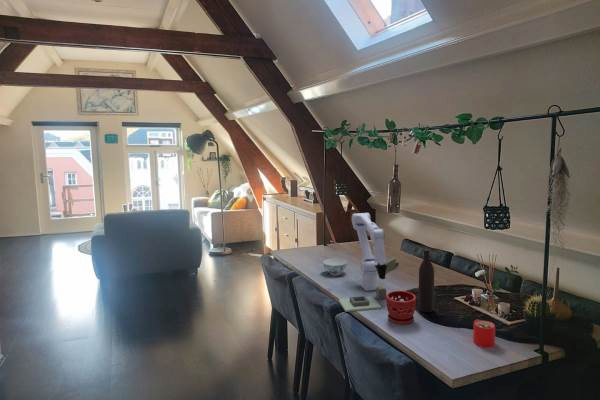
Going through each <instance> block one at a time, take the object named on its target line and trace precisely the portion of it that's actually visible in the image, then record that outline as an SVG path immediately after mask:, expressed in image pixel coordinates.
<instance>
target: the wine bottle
mask: <svg viewBox="0 0 600 400" xmlns="http://www.w3.org/2000/svg"><path fill="white" fill-rule="evenodd" d="M430 254H431V249H430V248H429V249H428V248H425V249H424V250H423V260H422V261H421V264H420V265H419V268H418V311H419V312H420V311H422V312H421V313H423V312H432V311H433V312H434V309H435V268H434V265H433V263H432V261H431V257H430ZM433 312H432V313H433Z"/></svg>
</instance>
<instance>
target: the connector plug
mask: <svg viewBox="0 0 600 400" xmlns="http://www.w3.org/2000/svg"><path fill="white" fill-rule="evenodd" d="M375 292H376V296H375V297H376V298H377V299H378V300H384V299H385V300H386V295H387V289H386V287H385V286H384V285H377V288H376V290H375Z"/></svg>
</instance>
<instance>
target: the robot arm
mask: <svg viewBox="0 0 600 400" xmlns="http://www.w3.org/2000/svg"><path fill="white" fill-rule="evenodd" d="M351 223H352V227H353V229H354V230H355V231H356V233H357V237H358V241H359V244H360V249H361V253H362V256H363V257H362V258H361V259H360V261H359V264H360V265H359V266H360V270H361V273H362V277H361V278H362V284H360V286H361V287H362V288H363V290H365V292H367V291H376V288H377V287H378V278H379V279H380V280H385V279H386V274H387V272H386V268H387V265H385V264H384V262H387V261H388V260H389V259H386V258H387V257H386V250H385V241H384V240H385V238H386V232H385V229H383V228H380V227H379V226H378V225H377V224H376V223H375V222H373V221H372V220H371V214H370V213H369V212H361V213H352V214H351ZM366 231H367V232H368V234H369V236H370V237H369V238H370V240H371V243H372V250H373V253H372V250H371V246H370V242H369V239H368V235H367V232H366Z"/></svg>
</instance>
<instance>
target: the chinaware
mask: <svg viewBox="0 0 600 400" xmlns="http://www.w3.org/2000/svg"><path fill="white" fill-rule="evenodd" d="M322 263H323V267H324V269H325V270H326V271H327V272H328V273H329V274H330V275H332V276H340V275H341V274H342V273H343V272H344V271H345V270H346V268H347V266H348V260H346V259H344V258H343V259H342V258H328V259H324V260H323V262H322Z"/></svg>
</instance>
